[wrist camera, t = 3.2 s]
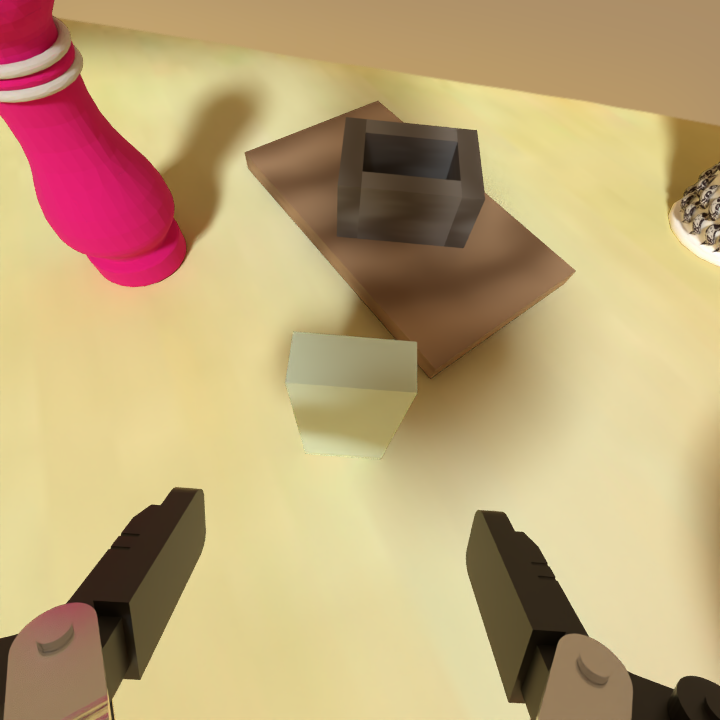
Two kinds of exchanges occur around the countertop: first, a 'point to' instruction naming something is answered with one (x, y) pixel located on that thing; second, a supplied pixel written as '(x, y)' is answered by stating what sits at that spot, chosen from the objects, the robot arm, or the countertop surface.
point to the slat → (350, 391)
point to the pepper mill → (82, 154)
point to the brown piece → (410, 227)
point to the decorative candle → (700, 217)
